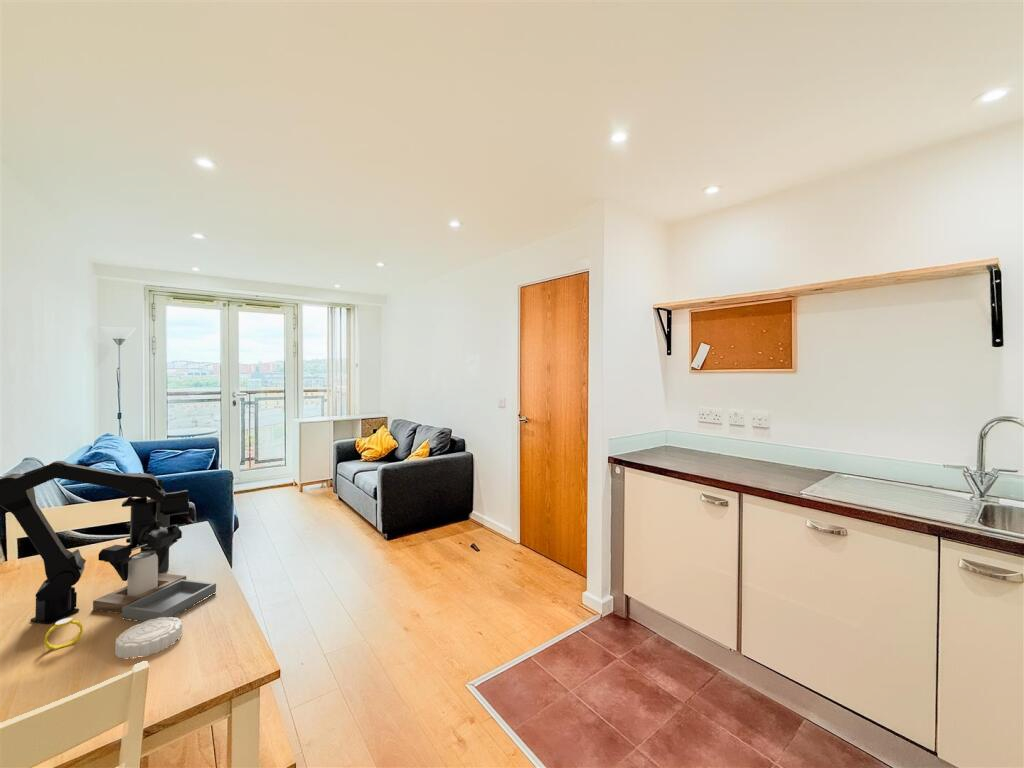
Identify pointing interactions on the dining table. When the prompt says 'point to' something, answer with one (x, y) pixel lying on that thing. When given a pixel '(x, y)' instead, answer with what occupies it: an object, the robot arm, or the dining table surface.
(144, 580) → the can
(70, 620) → the watch
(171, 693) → the dining table surface
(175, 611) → the tray
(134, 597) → the holder
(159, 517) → the wine bottle
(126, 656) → the mooncake
